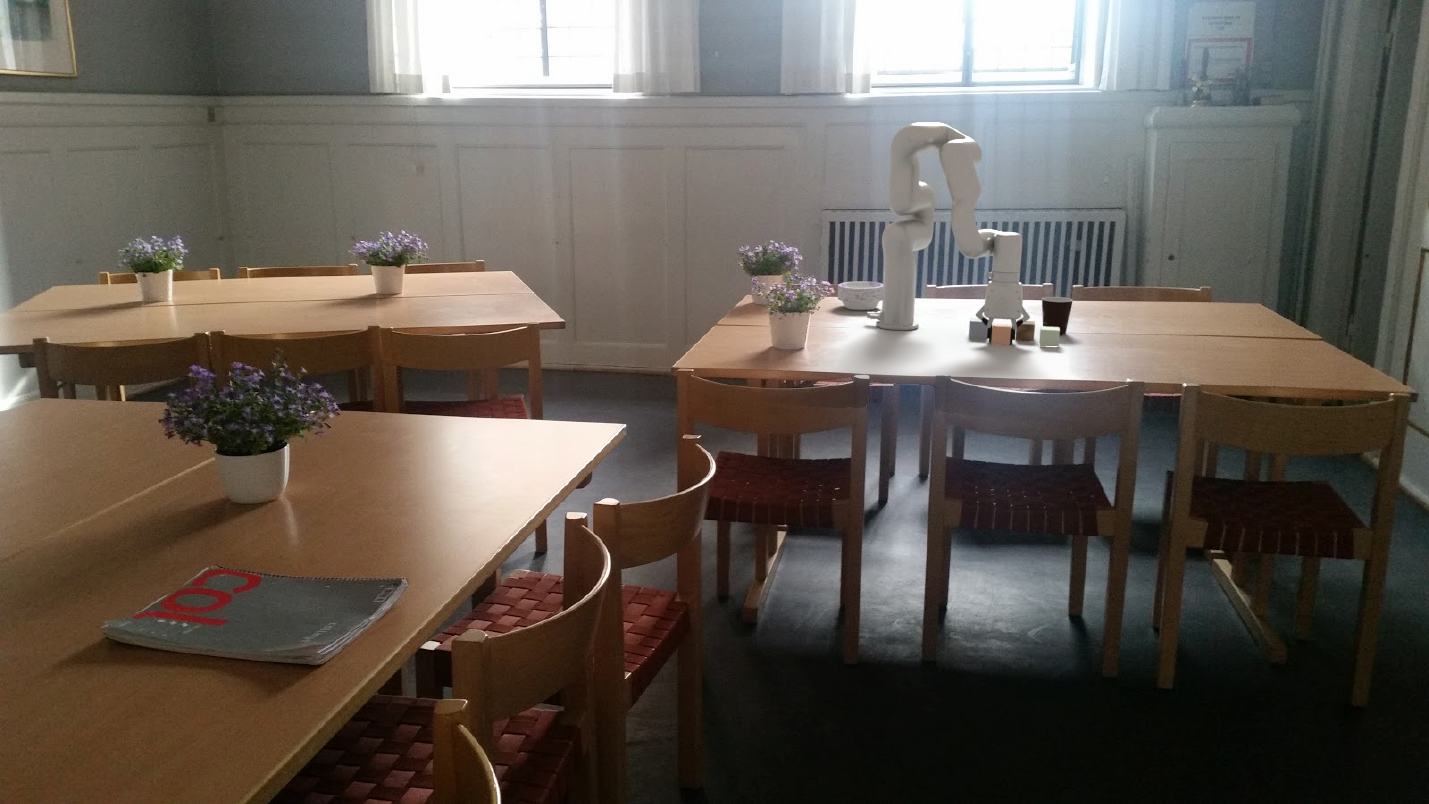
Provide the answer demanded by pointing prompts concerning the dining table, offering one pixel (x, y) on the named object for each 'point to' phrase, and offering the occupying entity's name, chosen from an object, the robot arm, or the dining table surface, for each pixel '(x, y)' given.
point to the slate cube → (977, 329)
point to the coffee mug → (1056, 312)
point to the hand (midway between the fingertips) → (1000, 341)
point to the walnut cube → (1025, 331)
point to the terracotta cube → (1001, 334)
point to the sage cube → (1049, 336)
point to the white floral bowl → (860, 295)
